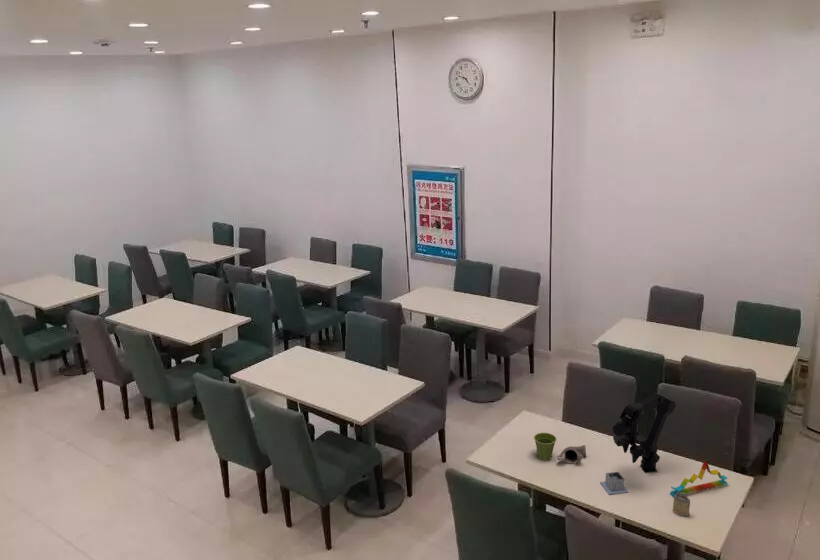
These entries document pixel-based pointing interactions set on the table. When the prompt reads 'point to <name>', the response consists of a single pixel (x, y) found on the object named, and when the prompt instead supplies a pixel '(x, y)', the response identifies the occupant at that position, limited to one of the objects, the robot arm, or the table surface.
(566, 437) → the table surface
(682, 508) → the old metal can
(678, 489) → the multicoloured triangular frame
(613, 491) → the grey peg stand
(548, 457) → the plant pot
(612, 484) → the collar
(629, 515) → the table surface
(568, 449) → the animal shaped planter
